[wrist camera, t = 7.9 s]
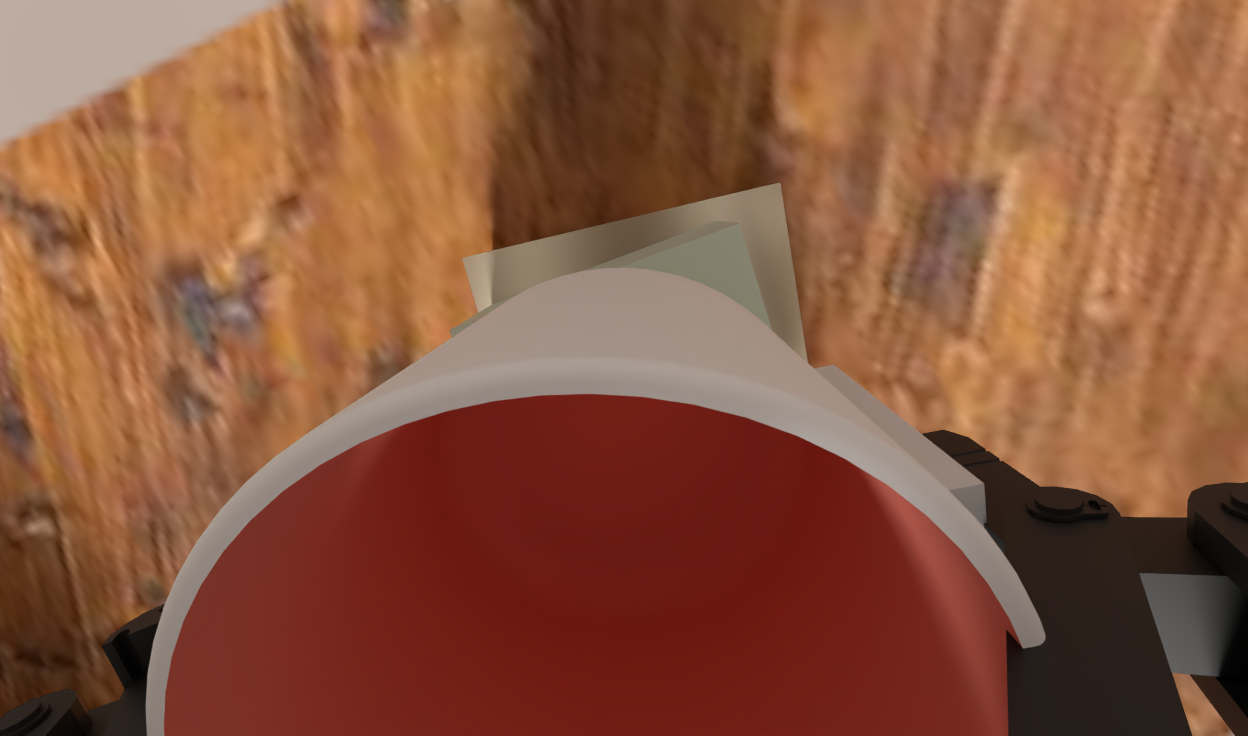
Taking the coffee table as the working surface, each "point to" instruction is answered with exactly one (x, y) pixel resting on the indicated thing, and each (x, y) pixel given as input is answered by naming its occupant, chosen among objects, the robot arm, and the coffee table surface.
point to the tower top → (691, 265)
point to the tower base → (595, 245)
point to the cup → (593, 549)
